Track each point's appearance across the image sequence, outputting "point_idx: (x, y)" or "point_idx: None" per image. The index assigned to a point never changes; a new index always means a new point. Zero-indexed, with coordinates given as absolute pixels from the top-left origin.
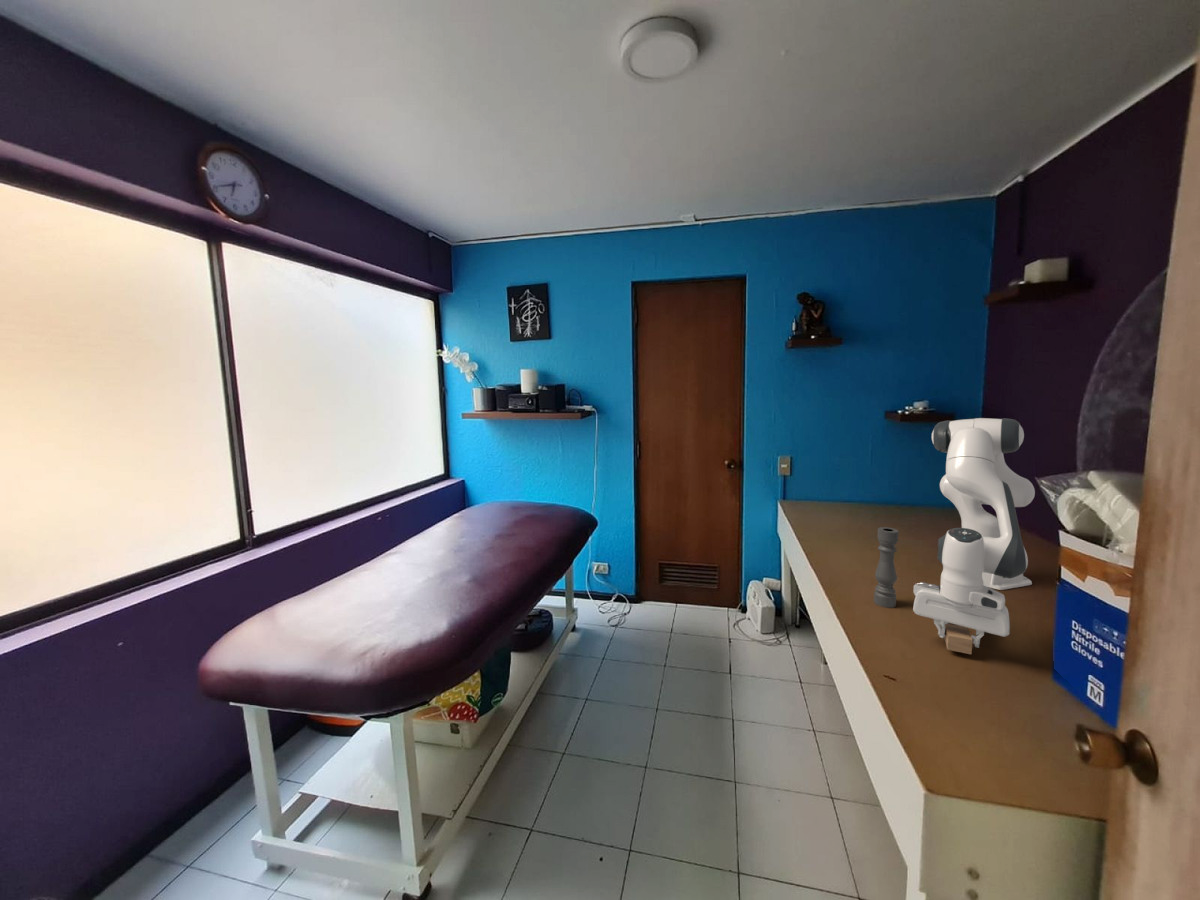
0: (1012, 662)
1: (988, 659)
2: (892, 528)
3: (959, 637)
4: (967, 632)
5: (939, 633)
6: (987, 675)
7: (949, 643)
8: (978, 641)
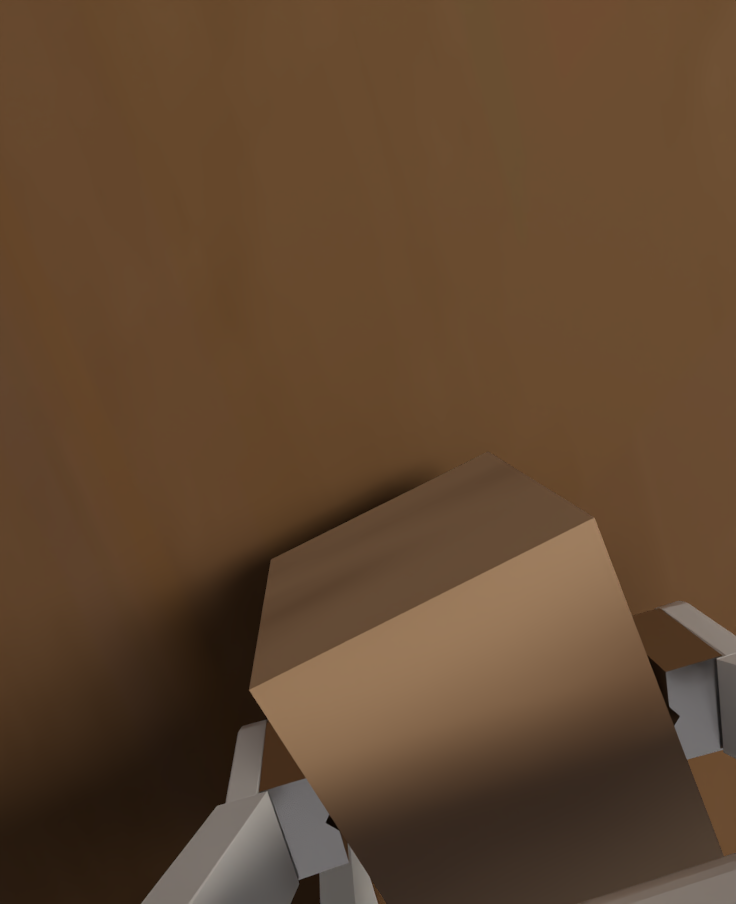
0: (21, 796)
1: (176, 677)
2: None
3: (435, 603)
4: (405, 873)
5: (682, 612)
6: (31, 333)
7: (506, 481)
8: (325, 874)
